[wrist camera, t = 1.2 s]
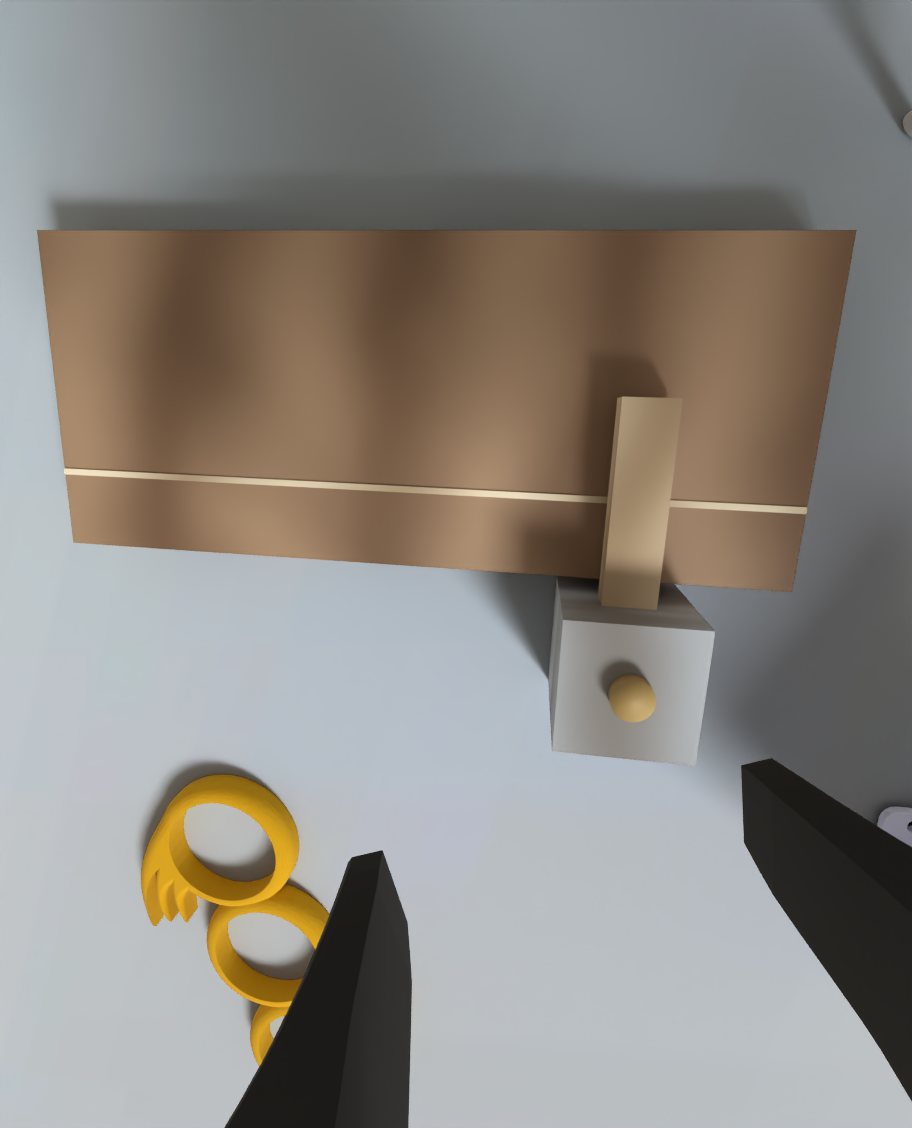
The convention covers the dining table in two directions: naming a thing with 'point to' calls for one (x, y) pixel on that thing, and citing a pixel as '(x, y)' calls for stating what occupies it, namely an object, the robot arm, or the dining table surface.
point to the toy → (908, 123)
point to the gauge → (631, 615)
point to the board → (441, 391)
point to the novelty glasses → (232, 891)
